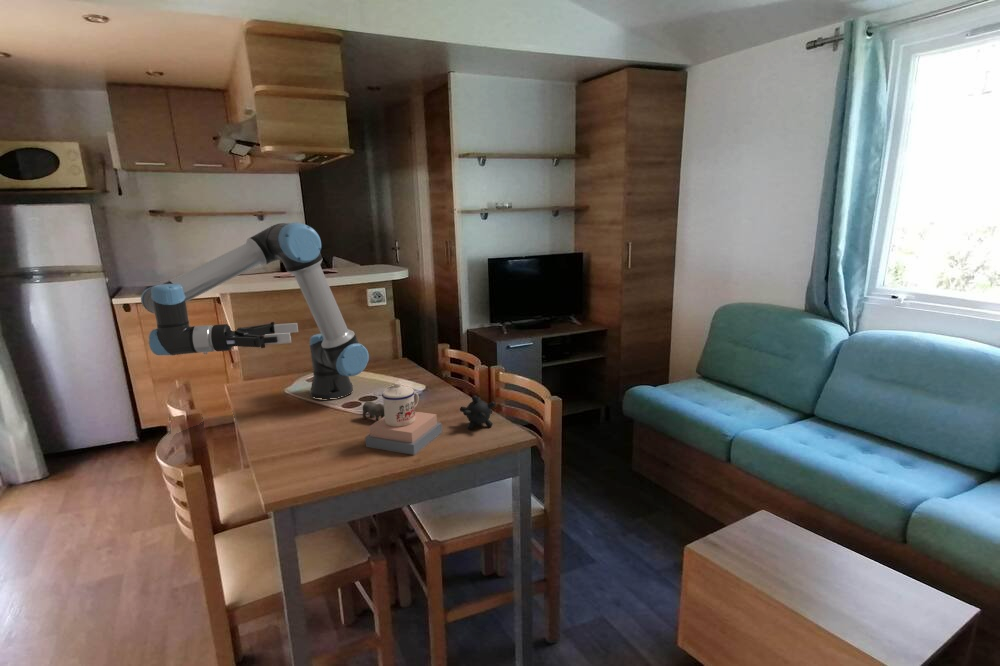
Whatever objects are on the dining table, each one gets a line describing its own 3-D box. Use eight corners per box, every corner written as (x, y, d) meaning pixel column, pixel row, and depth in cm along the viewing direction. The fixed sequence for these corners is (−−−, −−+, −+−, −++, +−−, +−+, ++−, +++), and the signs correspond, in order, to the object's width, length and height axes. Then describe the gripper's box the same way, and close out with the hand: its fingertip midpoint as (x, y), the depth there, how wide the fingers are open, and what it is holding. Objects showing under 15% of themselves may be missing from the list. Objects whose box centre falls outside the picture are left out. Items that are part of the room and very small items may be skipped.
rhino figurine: (391, 427, 164) (390, 409, 162) (359, 419, 171) (358, 402, 169) (400, 422, 167) (399, 404, 166) (368, 415, 174) (367, 397, 173)
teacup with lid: (399, 430, 146) (396, 390, 144) (377, 423, 152) (374, 384, 149) (429, 416, 156) (427, 378, 153) (408, 410, 161) (405, 373, 158)
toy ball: (509, 417, 161) (481, 419, 152) (488, 434, 166) (460, 437, 158) (495, 388, 166) (467, 388, 157) (475, 406, 171) (447, 407, 162)
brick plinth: (397, 425, 165) (395, 407, 163) (442, 432, 159) (441, 413, 157) (365, 446, 150) (364, 427, 149) (414, 455, 144) (412, 434, 143)
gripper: (228, 341, 161) (301, 335, 165) (202, 363, 137) (288, 356, 141) (224, 316, 159) (298, 311, 163) (197, 335, 135) (285, 328, 140)
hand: (294, 332), depth 152 cm, fingers open, 13 cm apart
